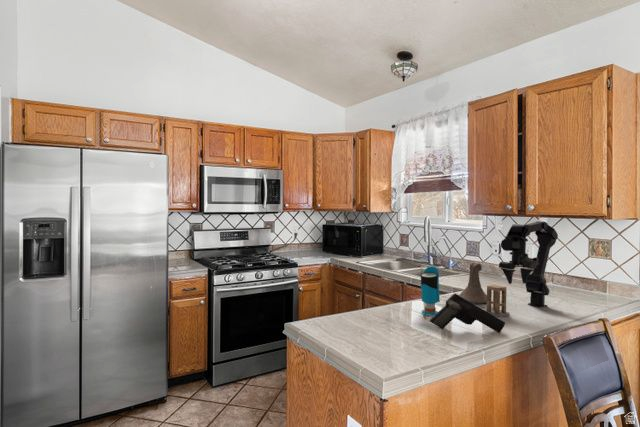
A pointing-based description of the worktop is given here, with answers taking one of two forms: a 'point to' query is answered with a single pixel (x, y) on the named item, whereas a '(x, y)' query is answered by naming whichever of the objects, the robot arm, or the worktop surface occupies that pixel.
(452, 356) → the worktop surface
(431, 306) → the security camera
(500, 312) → the mat
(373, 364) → the worktop surface
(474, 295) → the sculpture
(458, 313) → the handgun
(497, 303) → the stool
